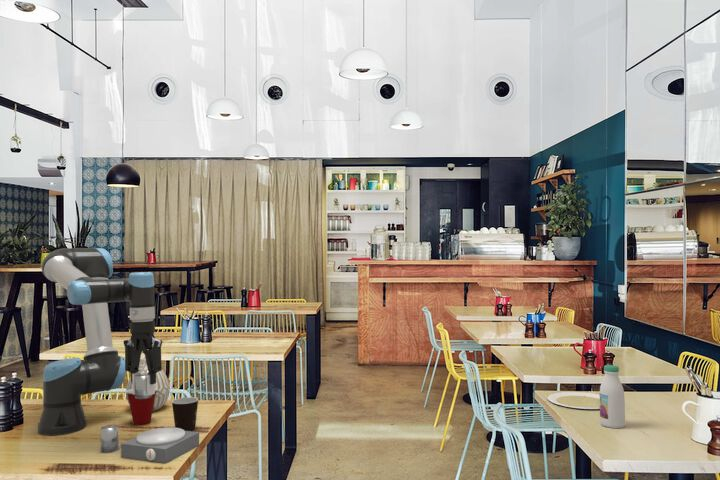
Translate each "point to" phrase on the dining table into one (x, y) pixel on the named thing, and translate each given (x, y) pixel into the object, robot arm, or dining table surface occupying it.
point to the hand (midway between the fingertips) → (143, 393)
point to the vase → (161, 384)
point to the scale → (160, 444)
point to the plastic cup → (141, 408)
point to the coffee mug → (185, 413)
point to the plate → (553, 397)
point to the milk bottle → (612, 399)
